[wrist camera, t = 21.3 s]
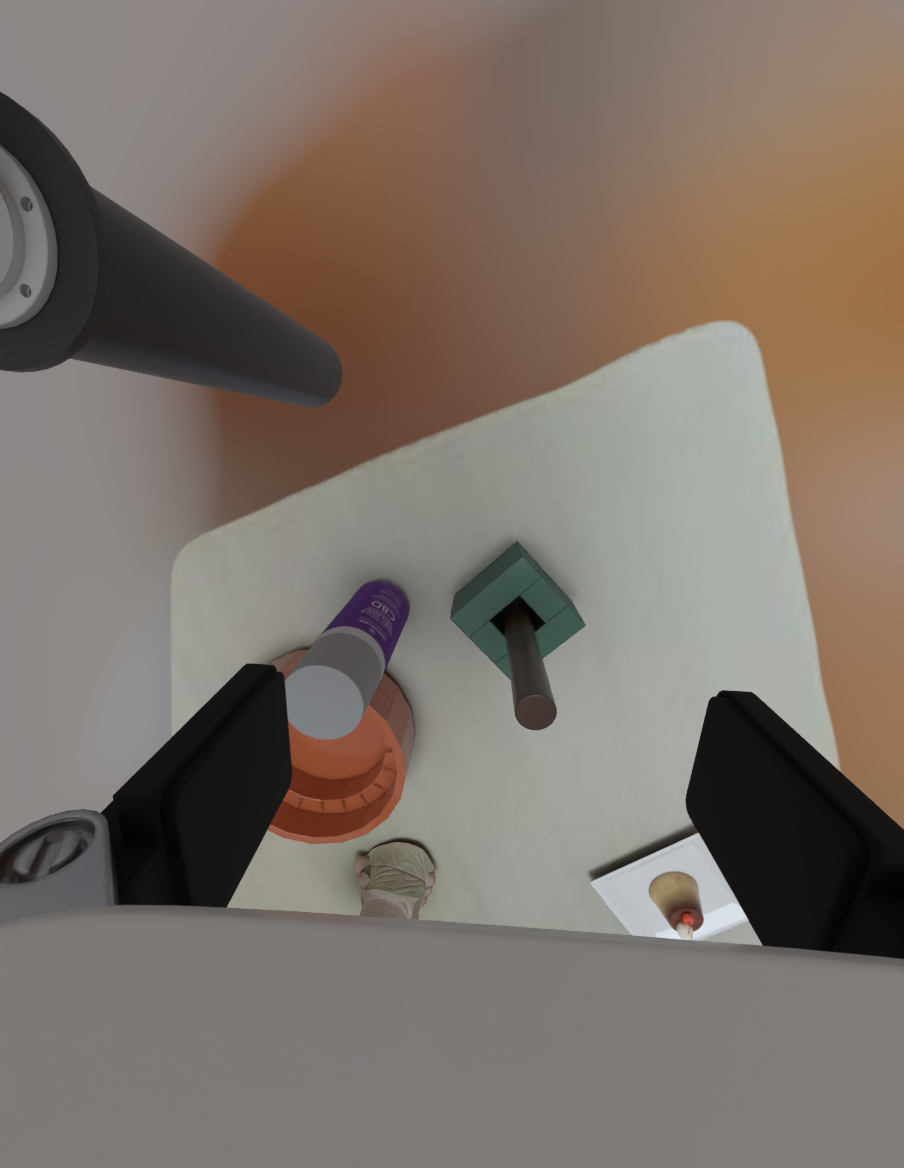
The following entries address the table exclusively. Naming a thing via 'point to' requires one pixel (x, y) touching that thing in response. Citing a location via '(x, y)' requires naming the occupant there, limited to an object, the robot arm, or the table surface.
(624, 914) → the dessert
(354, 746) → the bowl
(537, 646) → the stick
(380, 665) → the container
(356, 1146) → the robot arm
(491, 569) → the holder
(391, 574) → the table surface
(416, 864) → the figurine
